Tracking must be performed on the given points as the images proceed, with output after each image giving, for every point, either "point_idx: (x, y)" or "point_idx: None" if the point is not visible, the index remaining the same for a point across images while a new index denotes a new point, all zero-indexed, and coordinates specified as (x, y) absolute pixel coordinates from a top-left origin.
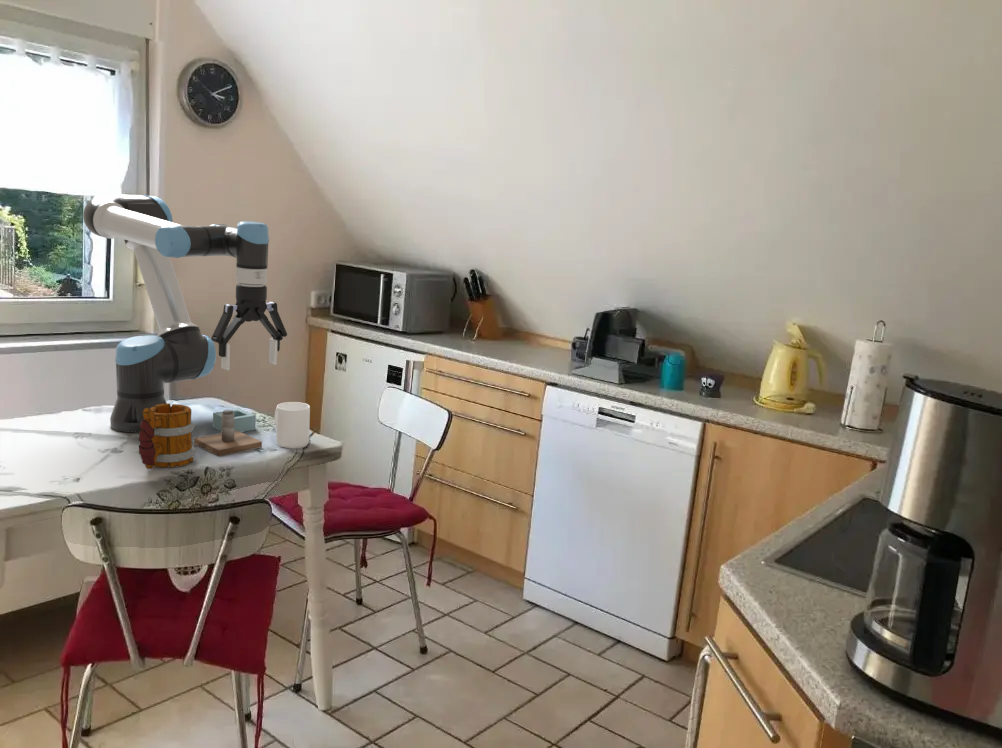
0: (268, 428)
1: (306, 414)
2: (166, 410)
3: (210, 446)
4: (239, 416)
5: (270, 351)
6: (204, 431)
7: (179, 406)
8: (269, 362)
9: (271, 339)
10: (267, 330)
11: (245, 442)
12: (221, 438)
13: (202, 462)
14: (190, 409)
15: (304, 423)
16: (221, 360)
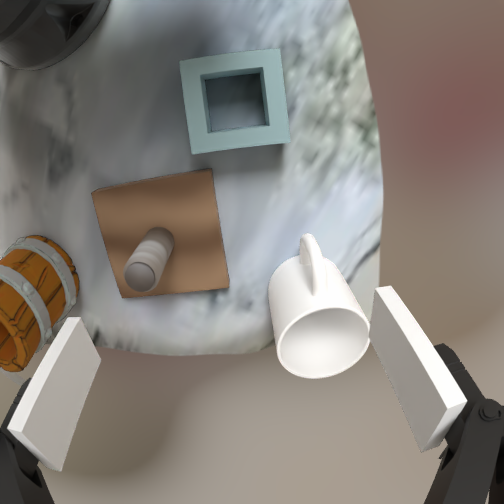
0: (320, 146)
1: (333, 364)
2: None
3: (111, 266)
4: (238, 131)
5: (402, 351)
6: (151, 96)
7: (3, 324)
8: (375, 298)
9: (435, 426)
10: (446, 488)
11: (191, 277)
12: (148, 224)
13: (92, 307)
14: (26, 357)
15: (322, 350)
16: (51, 346)
